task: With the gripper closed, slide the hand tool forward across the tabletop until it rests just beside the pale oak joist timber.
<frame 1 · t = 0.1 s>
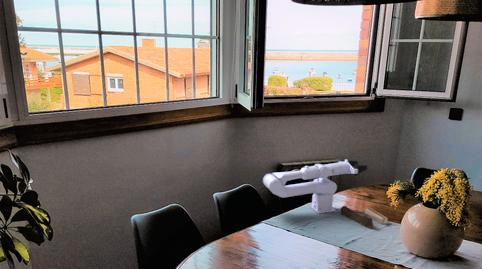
hand: (362, 165, 177), 22 cm above the table, tool horizontal, fingers open, 7 cm apart
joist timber: (375, 218, 168), on the table
hand tool: (357, 221, 165), on the table
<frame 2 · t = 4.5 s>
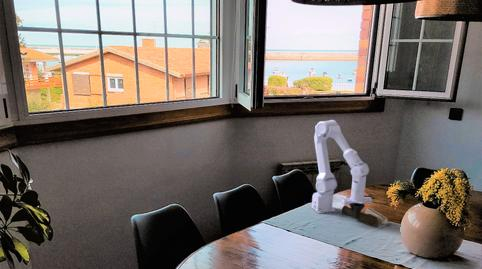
hand: (355, 217, 164), 1 cm above the table, tool pointing down, fingers closed
hand tool: (360, 220, 166), on the table
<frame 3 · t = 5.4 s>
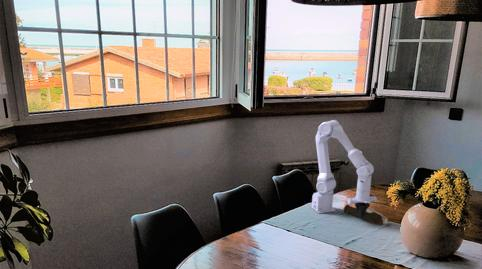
hand: (360, 217, 165), 1 cm above the table, tool pointing down, fingers closed
hand tool: (363, 218, 168), on the table
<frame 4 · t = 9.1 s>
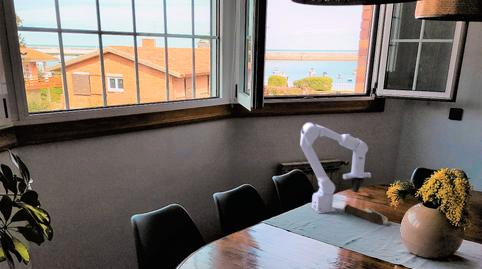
hand: (355, 191, 175), 9 cm above the table, tool pointing down, fingers closed
nothing on the table moved.
at the end: hand tool 2.0 cm from the target spot, on the table; hand tool moved 5.3 cm from its start; the gripper is holding nothing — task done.
